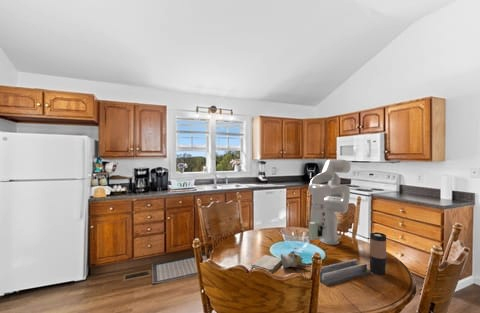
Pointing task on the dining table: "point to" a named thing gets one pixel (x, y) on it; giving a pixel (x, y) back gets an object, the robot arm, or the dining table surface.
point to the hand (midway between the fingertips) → (317, 235)
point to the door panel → (316, 231)
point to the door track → (342, 272)
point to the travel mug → (378, 253)
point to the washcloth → (267, 263)
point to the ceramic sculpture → (293, 260)
